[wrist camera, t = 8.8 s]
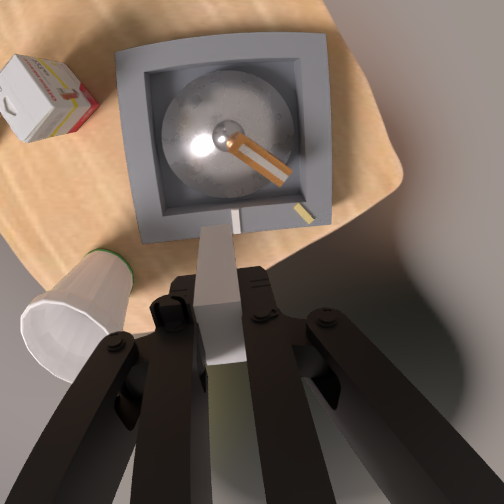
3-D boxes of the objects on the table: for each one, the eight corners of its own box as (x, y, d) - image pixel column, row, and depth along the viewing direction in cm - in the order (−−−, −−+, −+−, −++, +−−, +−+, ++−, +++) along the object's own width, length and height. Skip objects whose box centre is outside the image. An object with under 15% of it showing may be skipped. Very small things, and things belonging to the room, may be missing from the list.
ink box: (102, 105, 31) (56, 108, 21) (75, 133, 32) (24, 147, 22) (65, 61, 28) (13, 51, 17) (40, 89, 29) (-16, 90, 18)
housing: (126, 57, 29) (113, 51, 25) (313, 41, 30) (326, 33, 26) (149, 229, 39) (141, 245, 34) (320, 211, 40) (332, 225, 36)
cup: (68, 300, 42) (29, 369, 28) (68, 226, 37) (12, 285, 24) (143, 319, 45) (122, 398, 31) (153, 246, 40) (125, 318, 26)
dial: (141, 151, 33) (123, 163, 26) (212, 49, 29) (211, 34, 22) (241, 215, 37) (247, 240, 31) (314, 121, 33) (336, 125, 27)
